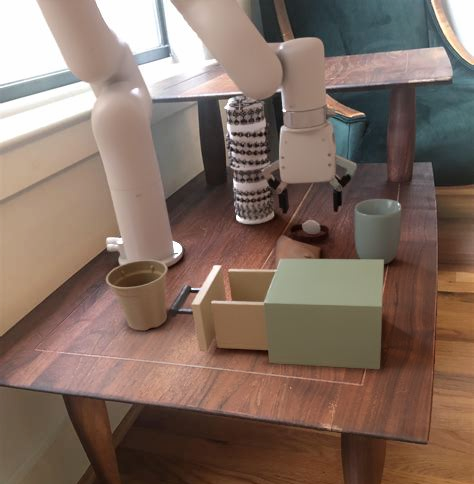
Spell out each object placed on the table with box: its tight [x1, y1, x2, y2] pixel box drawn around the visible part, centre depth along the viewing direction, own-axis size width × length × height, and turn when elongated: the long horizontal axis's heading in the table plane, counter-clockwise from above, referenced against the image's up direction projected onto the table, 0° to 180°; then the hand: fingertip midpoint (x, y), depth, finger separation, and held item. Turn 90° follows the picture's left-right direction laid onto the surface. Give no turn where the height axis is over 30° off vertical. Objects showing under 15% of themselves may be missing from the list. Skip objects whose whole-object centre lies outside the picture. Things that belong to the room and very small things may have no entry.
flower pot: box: [105, 260, 169, 331], centre depth 85 cm, size 9×9×9 cm
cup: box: [353, 198, 403, 266], centre depth 94 cm, size 8×8×10 cm
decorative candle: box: [223, 94, 275, 225], centre depth 114 cm, size 9×9×25 cm
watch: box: [289, 219, 330, 244], centre depth 106 cm, size 8×5×4 cm, turn 68°
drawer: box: [167, 264, 276, 353], centre depth 79 cm, size 18×11×8 cm, turn 76°
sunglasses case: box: [273, 235, 322, 270], centre depth 95 cm, size 18×7×7 cm
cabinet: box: [264, 258, 385, 370], centre depth 75 cm, size 15×13×10 cm
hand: (310, 210), depth 104 cm, fingers open, 9 cm apart
